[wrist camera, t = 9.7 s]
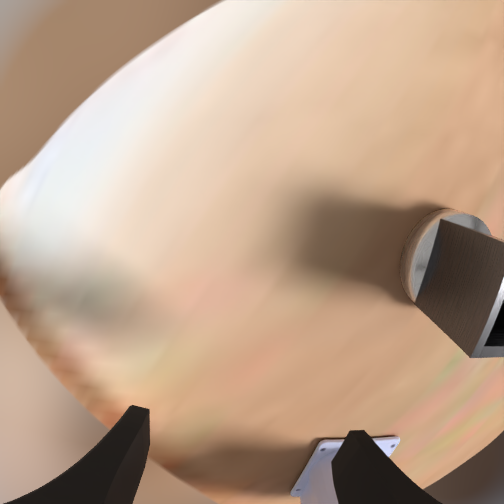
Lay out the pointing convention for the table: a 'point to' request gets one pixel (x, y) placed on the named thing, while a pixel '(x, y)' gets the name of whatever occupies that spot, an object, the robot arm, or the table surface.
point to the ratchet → (428, 246)
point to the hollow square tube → (466, 289)
